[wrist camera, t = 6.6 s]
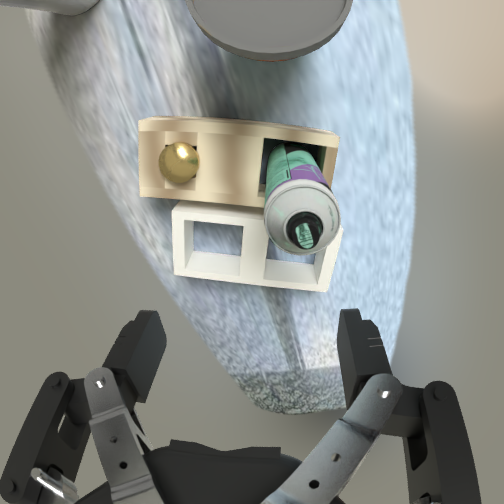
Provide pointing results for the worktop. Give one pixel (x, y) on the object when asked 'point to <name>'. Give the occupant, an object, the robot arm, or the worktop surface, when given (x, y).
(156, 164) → the socket block
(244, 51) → the reusable coffee cup
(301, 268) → the frame
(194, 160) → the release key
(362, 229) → the worktop surface
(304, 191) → the spray can
